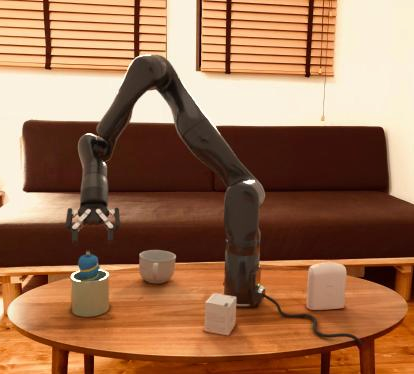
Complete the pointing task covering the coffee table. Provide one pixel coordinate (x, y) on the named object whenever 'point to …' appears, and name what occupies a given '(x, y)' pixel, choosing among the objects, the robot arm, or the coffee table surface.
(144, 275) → the teacup
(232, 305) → the product carton
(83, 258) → the ornament
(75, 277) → the green cup
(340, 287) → the photo printer
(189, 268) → the coffee table surface
